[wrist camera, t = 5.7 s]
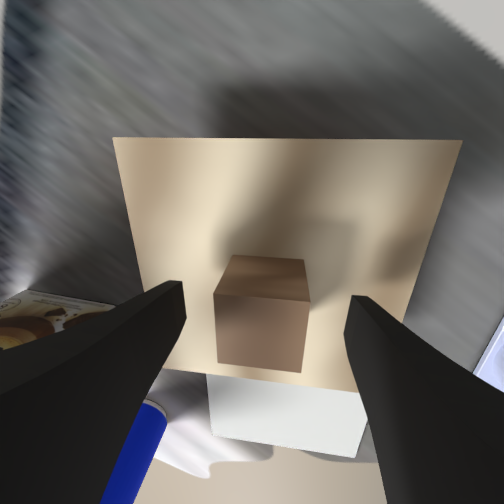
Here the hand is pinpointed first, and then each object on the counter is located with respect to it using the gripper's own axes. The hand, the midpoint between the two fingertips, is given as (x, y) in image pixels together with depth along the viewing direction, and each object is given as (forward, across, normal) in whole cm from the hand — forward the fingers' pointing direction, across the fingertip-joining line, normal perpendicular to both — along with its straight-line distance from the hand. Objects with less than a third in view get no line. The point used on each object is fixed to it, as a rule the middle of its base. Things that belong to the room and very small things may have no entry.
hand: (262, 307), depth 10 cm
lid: (+3, 0, 0) cm, 3 cm away
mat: (+7, -2, +15) cm, 17 cm away
